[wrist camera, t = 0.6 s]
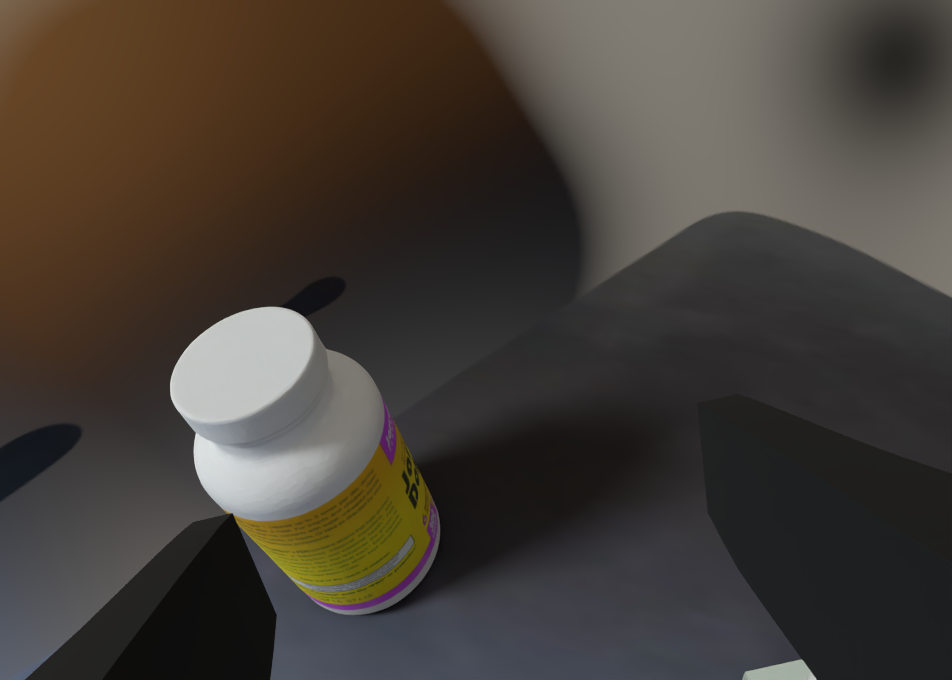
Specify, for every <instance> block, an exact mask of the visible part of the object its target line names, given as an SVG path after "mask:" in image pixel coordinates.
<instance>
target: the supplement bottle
mask: <svg viewBox="0 0 952 680" xmlns="http://www.w3.org/2000/svg"><path fill="white" fill-rule="evenodd" d="M170 391H171V399H172V401H173V403H174V405H175V407H176V409H177V410H178V411H179V413H180V414H181V415H182V416H183V417H184V419H185V420H186V421H187V422H188V424H189V425H190V426H191V427H192V429H193V430H194V431H195V432H196V436H195V442H194V462H195V467H196V471H197V474H198V477H199V479H200V481H201V484H202V485H203V487H204V489H205V490H206V491H207V493H208V494H209V495H210V496H211V497H212V499H214V501H215V502H216V503H217V504H218V505H219V506H221V508H222V509H223V510H224V511H225V512H226V513H227V514H230V513H233V515H234V517H235V520H236V522H237V524H238V525H239V526H240V527H241V528H242V529H243V530H244V531H245V532H246V533H247V534H248V535H249V536H250V537H251V538H252V539H253V540H254V541H255V542H256V543H257V544H258V545H259V546H260V547H261V548H262V549H263V550H264V551H265V552H266V553H267V554H268V556H269V557H270V558H271V559H272V560H273V561H274V562H275V563H276V564H277V565H278V566H279V567H280V568H281V569H282V570H283V571H284V572H285V573H286V574H287V575H288V576H289V577H290V578H291V579H292V580H293V581H294V583H295V584H296V585H297V586H298V587H299V588H300V589H302V590H303V591H304V592H305V593H306V594H307V595H308V596H309V597H310V598H311V599H312V600H313V601H315V602H316V603H317V604H319V605H320V606H322V607H324V608H326V609H328V610H330V611H333V612H336V613H340V614H346V615H363V614H369V613H373V612H377V611H380V610H383V609H385V608H388V607H390V606H392V605H394V604H395V603H397V602H398V601H400V600H401V599H403V598H404V597H405V596H407V595H408V594H409V593H410V592H411V591H412V590H413V589H414V588H415V587H416V586H417V585H418V584H419V583H420V582H421V581H422V579H423V578H424V577H425V575H426V574H427V572H428V570H429V569H430V567H431V565H432V563H433V561H434V559H435V556H436V553H437V550H438V545H439V540H440V520H439V515H438V511H437V508H436V506H435V503H434V501H433V498H432V496H431V494H430V492H429V490H428V488H427V486H426V484H425V482H424V480H423V478H422V476H421V474H420V472H419V470H418V468H417V466H416V464H415V462H414V460H413V458H412V456H411V454H410V452H409V450H408V448H407V446H406V444H405V442H404V440H403V438H402V436H401V434H400V432H399V430H398V428H397V426H396V424H395V422H394V421H393V419H392V417H391V415H390V413H389V411H388V409H387V407H386V404H385V402H384V400H383V398H382V396H381V394H380V392H379V391H378V388H377V387H376V385H375V383H374V381H373V379H372V378H371V377H370V375H369V374H368V373H367V372H366V370H365V369H363V367H362V366H360V365H359V364H358V363H357V362H356V361H354V360H352V359H351V358H349V357H347V356H345V355H343V354H340V353H337V352H334V351H331V350H327V349H325V347H324V345H323V344H322V342H321V341H320V339H319V337H318V335H317V334H316V332H315V330H314V329H313V327H312V326H311V324H310V323H309V321H308V320H306V318H304V317H303V316H302V315H300V314H299V313H297V312H294V311H292V310H289V309H285V308H280V307H262V308H256V309H251V310H247V311H244V312H240V313H237V314H235V315H232V316H230V317H228V318H226V319H224V320H222V321H220V322H218V323H216V324H215V325H213V326H212V327H211V328H209V329H208V330H206V331H205V332H204V333H202V334H201V335H200V336H199V337H198V338H197V339H195V340H194V341H193V342H192V343H191V344H190V345H189V347H188V348H187V349H186V350H185V352H184V353H183V354H182V356H181V357H180V359H179V361H178V362H177V364H176V366H175V369H174V371H173V374H172V378H171V383H170Z"/></svg>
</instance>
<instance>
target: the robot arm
mask: <svg viewBox="0 0 952 680" xmlns="http://www.w3.org/2000/svg"><path fill="white" fill-rule="evenodd" d="M698 410H699V421H700V432H701V443H702V454H703V465H704V476H705V487H706V498H707V509H708V514H709V516H710V518H711V520H712V521H713V523H714V525H715V527H716V529H717V531H718V533H719V535H720V537H721V539H722V541H723V543H724V544H725V546H726V548H727V550H728V552H729V553H730V555H731V557H732V559H733V561H734V562H735V564H736V566H737V568H738V570H739V571H740V572H741V574H742V575H743V577H744V578H745V580H746V581H747V583H748V584H749V585H750V587H751V588H752V590H753V591H754V593H755V594H756V595H757V597H758V598H759V600H760V601H761V602H762V604H763V605H764V607H765V608H766V610H767V611H768V612H769V614H770V615H771V617H772V618H773V619H774V621H775V622H776V624H777V625H778V626H779V628H780V629H781V630H782V632H783V633H784V635H785V636H786V637H787V639H788V640H789V642H790V643H791V644H792V646H793V647H794V649H795V650H796V651H797V653H798V654H799V656H800V657H801V658H802V660H803V661H804V663H805V664H806V665H807V667H808V668H809V669H810V671H811V672H812V674H813V675H814V676H815V678H816V679H817V680H952V474H951V473H948V472H945V471H942V470H939V469H936V468H933V467H930V466H927V465H924V464H921V463H918V462H915V461H912V460H909V459H906V458H903V457H900V456H898V455H895V454H892V453H889V452H887V451H884V450H881V449H878V448H876V447H873V446H870V445H868V444H865V443H862V442H860V441H857V440H854V439H852V438H849V437H847V436H844V435H842V434H839V433H837V432H834V431H832V430H829V429H827V428H824V427H822V426H819V425H816V424H814V423H812V422H809V421H807V420H804V419H802V418H799V417H797V416H794V415H792V414H789V413H787V412H784V411H782V410H779V409H777V408H774V407H772V406H769V405H767V404H764V403H762V402H759V401H756V400H754V399H751V398H748V397H745V396H742V395H739V394H735V395H731V396H727V397H722V398H718V399H714V400H710V401H705V402H701V403H698ZM276 616H277V615H276V612H275V610H274V608H273V605H272V603H271V601H270V598H269V596H268V594H267V592H266V589H265V587H264V585H263V582H262V580H261V578H260V575H259V573H258V571H257V568H256V566H255V564H254V561H253V559H252V557H251V554H250V552H249V550H248V547H247V545H246V543H245V540H244V538H243V536H242V533H241V531H240V529H239V527H238V524H237V522H236V520H235V517H234V515H233V513H230V514H226V515H222V516H218V517H214V518H209V519H205V520H201V521H196V522H193V523H192V524H190V525H189V526H188V527H187V528H185V529H184V530H183V531H182V532H181V533H180V534H179V535H177V536H176V537H175V538H174V539H173V540H172V541H171V542H170V543H169V544H168V545H166V546H165V547H164V548H163V549H162V550H161V551H160V552H159V553H158V554H157V555H156V556H155V557H154V558H153V559H152V560H151V561H150V562H149V563H148V564H147V565H146V566H145V567H144V568H143V569H142V570H141V571H140V572H139V573H138V574H136V575H135V576H134V577H133V578H132V579H131V580H130V581H129V582H128V583H127V584H126V585H125V586H124V587H123V588H122V589H121V590H120V591H119V592H118V593H117V594H116V595H115V596H114V597H113V598H112V599H111V600H110V601H109V602H108V603H107V604H106V605H105V606H104V607H103V608H102V609H101V610H100V611H99V612H98V613H96V614H95V616H93V617H92V618H91V620H89V621H88V622H87V623H86V624H85V625H84V626H83V627H82V628H81V629H80V630H79V631H78V632H77V633H76V634H74V635H73V636H72V637H71V638H70V639H69V640H68V641H67V642H66V643H65V644H63V645H62V646H61V647H60V648H59V649H58V650H57V651H56V652H55V653H54V654H53V655H51V656H50V657H49V658H48V659H47V660H46V661H45V662H44V663H43V664H42V665H41V666H39V667H38V668H37V669H36V670H35V671H34V672H33V673H32V674H31V675H30V676H29V677H27V678H26V679H25V680H270V676H271V668H272V659H273V651H274V639H275V628H276Z"/></svg>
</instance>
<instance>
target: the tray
mask: <svg viewBox="0 0 952 680" xmlns="http://www.w3.org/2000/svg"><path fill="white" fill-rule="evenodd" d="M743 680H817V679H816V678H815V676H814V675H813V674H812V672H811V671H810V669H809V668H808V667H807V665H806V664H805V663H804V661H803V660H797V661H793V662H788V663H784V664H779V665H774V666H770V667H765V668H761V669H756V670H752V671H747V672H745V674H744V677H743Z"/></svg>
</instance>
